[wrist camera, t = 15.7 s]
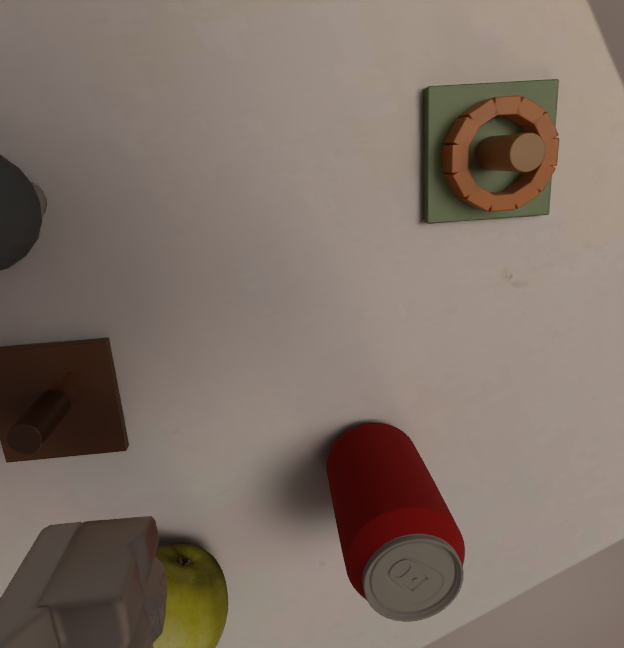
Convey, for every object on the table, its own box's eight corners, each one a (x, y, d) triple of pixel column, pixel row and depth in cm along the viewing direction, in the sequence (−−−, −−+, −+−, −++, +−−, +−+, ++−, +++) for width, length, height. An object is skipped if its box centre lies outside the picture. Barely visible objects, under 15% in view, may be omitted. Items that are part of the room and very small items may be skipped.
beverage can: (369, 513, 41) (410, 652, 29) (305, 462, 39) (323, 589, 27) (433, 454, 40) (502, 574, 28) (370, 399, 38) (417, 503, 26)
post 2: (424, 87, 32) (455, 73, 27) (552, 80, 32) (608, 65, 27) (423, 222, 34) (452, 233, 29) (543, 213, 35) (592, 223, 30)
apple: (115, 606, 41) (82, 708, 34) (141, 509, 39) (111, 595, 31) (214, 623, 42) (203, 725, 35) (244, 531, 40) (240, 618, 32)
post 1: (-18, 348, 34) (-68, 382, 29) (109, 337, 35) (81, 369, 30) (11, 456, 37) (-31, 506, 31) (129, 445, 37) (107, 492, 32)
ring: (442, 102, 31) (453, 99, 30) (546, 96, 32) (562, 92, 30) (441, 212, 33) (451, 214, 32) (539, 204, 34) (554, 207, 32)
